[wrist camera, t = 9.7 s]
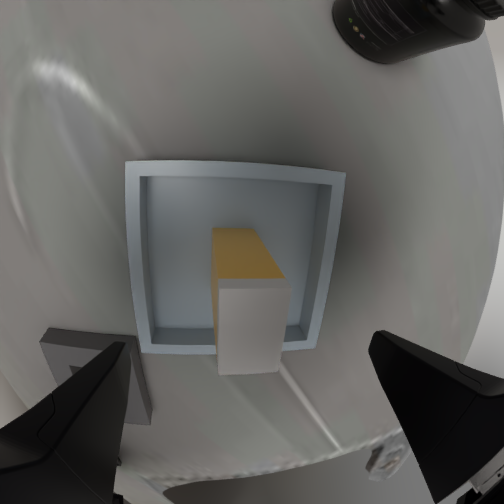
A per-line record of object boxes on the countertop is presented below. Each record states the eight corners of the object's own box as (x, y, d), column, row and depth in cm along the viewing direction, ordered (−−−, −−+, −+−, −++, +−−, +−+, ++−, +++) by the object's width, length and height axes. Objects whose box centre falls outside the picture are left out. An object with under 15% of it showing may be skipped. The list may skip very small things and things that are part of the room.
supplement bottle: (369, -14, 12) (465, -71, 1) (418, 51, 15) (534, 27, 4) (310, 4, 13) (407, -89, 2) (367, 78, 15) (510, 44, 4)
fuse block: (152, 409, 22) (150, 425, 20) (78, 400, 20) (73, 414, 19) (135, 336, 19) (130, 352, 17) (48, 327, 18) (39, 341, 16)
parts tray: (304, 328, 21) (315, 348, 19) (146, 331, 19) (141, 352, 17) (328, 169, 17) (346, 172, 15) (136, 160, 15) (125, 161, 13)
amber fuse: (249, 287, 18) (278, 372, 11) (210, 287, 18) (218, 375, 10) (253, 228, 17) (291, 287, 10) (212, 227, 17) (219, 288, 9)
